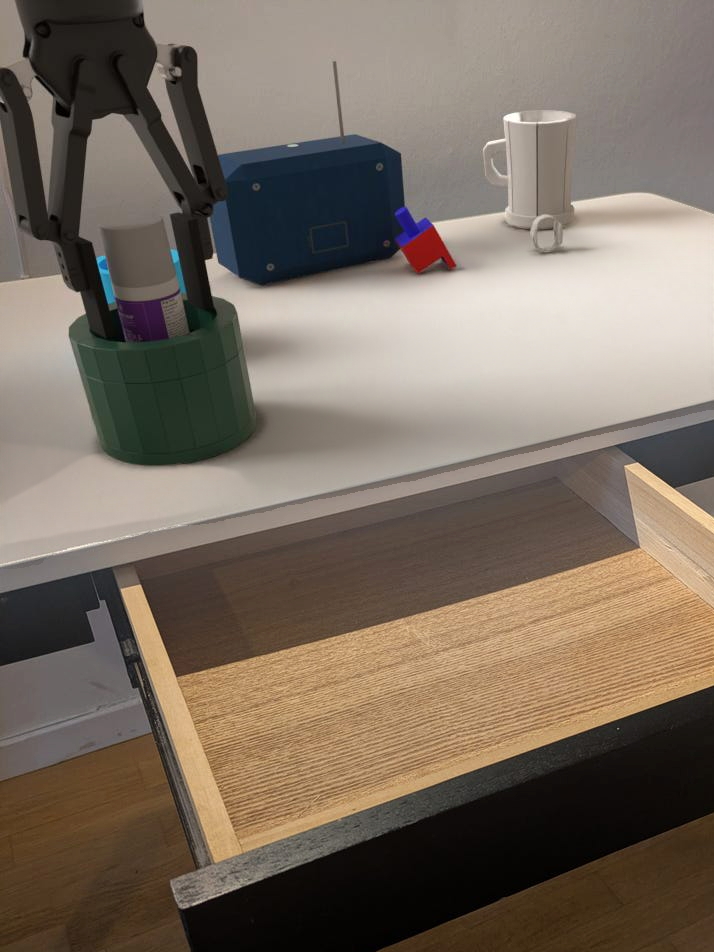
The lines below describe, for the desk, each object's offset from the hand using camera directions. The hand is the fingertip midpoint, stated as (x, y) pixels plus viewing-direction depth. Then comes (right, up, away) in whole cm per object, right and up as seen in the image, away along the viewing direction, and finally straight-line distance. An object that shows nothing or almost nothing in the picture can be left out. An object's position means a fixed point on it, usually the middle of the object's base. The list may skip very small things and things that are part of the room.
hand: (153, 318), depth 73 cm
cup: (+31, +29, +52) cm, 67 cm away
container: (0, -7, +5) cm, 8 cm away
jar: (0, -7, +5) cm, 9 cm away
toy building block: (+18, +18, +38) cm, 46 cm away
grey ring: (+32, +21, +42) cm, 57 cm away
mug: (-8, +4, +22) cm, 23 cm away
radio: (+5, +19, +40) cm, 45 cm away
